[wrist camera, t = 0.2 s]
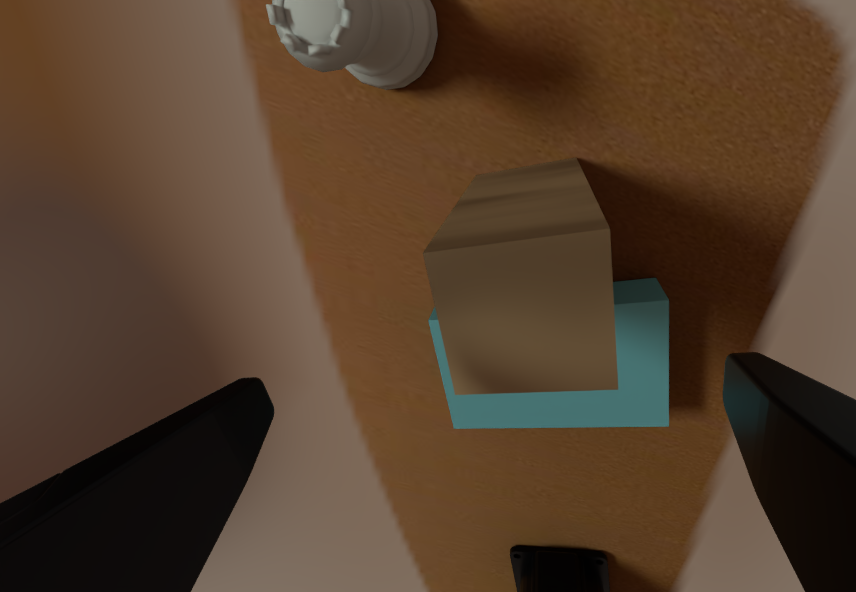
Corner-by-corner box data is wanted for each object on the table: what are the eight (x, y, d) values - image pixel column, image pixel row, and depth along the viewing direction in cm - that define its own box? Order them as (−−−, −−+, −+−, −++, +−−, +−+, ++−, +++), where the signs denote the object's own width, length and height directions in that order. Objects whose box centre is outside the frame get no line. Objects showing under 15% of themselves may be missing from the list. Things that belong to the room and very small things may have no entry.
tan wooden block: (583, 252, 22) (618, 389, 12) (490, 263, 23) (455, 395, 13) (576, 157, 20) (609, 228, 10) (476, 175, 21) (422, 252, 12)
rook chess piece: (342, -30, 19) (224, -97, 12) (444, -27, 18) (383, -95, 11) (344, 85, 21) (244, 87, 14) (436, 93, 20) (380, 99, 13)
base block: (657, 395, 24) (668, 426, 22) (460, 400, 27) (454, 428, 25) (655, 277, 21) (668, 299, 19) (438, 299, 25) (428, 320, 22)
